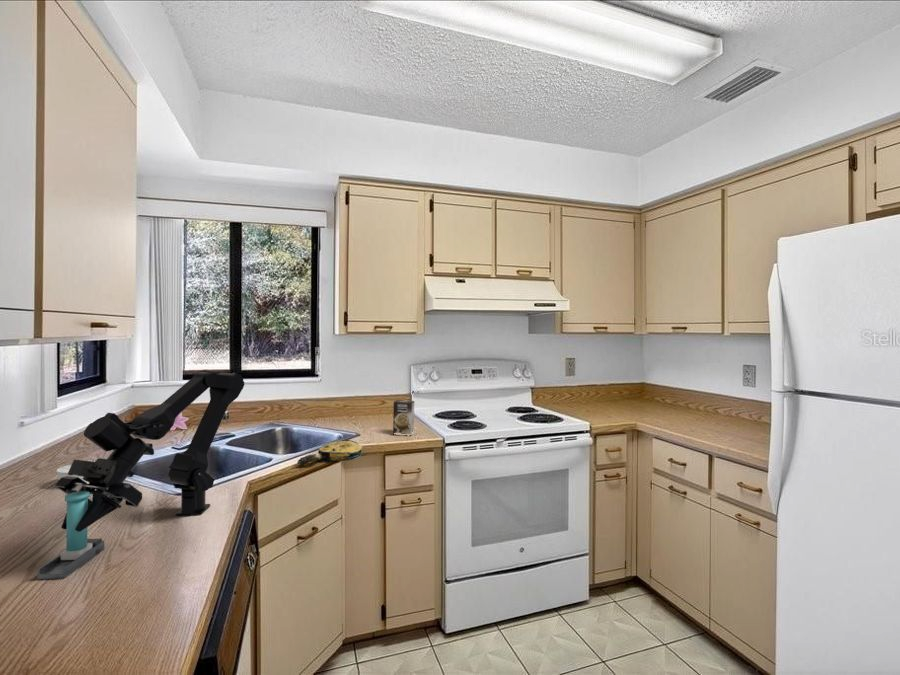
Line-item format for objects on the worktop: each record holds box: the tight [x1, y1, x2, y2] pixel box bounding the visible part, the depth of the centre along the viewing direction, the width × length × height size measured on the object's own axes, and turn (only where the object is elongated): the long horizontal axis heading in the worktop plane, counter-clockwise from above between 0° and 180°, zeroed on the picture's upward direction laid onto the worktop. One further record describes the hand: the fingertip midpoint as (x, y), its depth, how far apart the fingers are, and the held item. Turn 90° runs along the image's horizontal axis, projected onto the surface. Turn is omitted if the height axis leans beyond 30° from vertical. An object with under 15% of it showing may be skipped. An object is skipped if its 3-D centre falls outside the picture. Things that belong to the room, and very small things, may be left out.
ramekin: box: [55, 463, 89, 483], centre depth 145 cm, size 11×11×5 cm
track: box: [37, 538, 105, 580], centre depth 95 cm, size 12×5×3 cm, turn 6°
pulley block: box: [296, 439, 370, 466], centre depth 177 cm, size 14×6×30 cm
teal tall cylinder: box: [60, 491, 92, 560], centre depth 96 cm, size 4×4×13 cm
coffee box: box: [392, 399, 415, 434], centre depth 221 cm, size 9×6×16 cm
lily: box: [169, 411, 189, 431], centre depth 224 cm, size 12×12×10 cm
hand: (70, 529), depth 95 cm, fingers closed on teal tall cylinder, 3 cm apart
